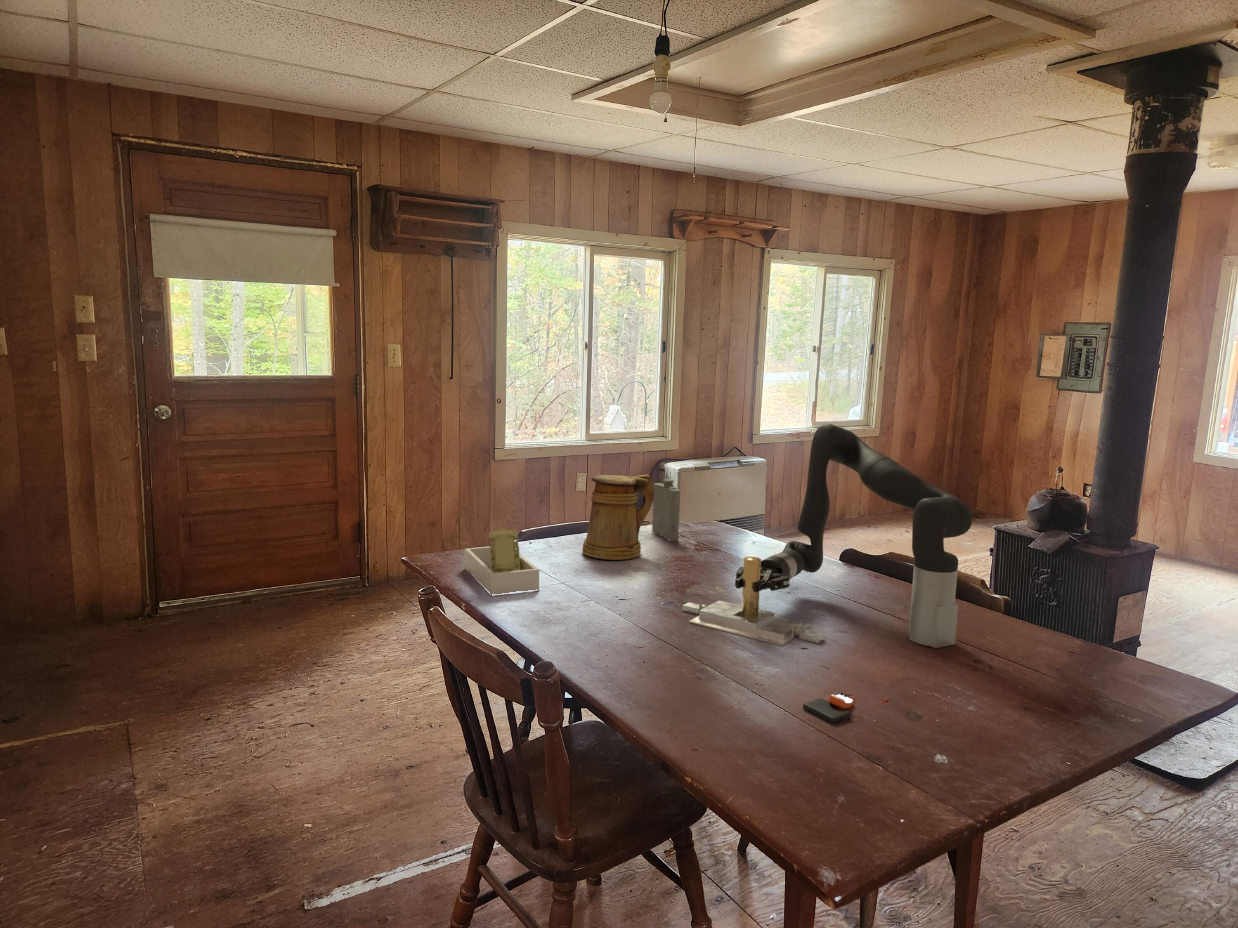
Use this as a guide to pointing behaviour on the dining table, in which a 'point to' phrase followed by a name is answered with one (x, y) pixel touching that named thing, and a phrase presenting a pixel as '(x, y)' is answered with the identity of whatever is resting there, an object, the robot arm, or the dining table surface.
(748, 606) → the pin
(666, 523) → the hip flask
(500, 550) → the mechanical component
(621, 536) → the tankard
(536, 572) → the parts tray
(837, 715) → the multimeter
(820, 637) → the peg-in-hole plate
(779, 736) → the dining table surface
